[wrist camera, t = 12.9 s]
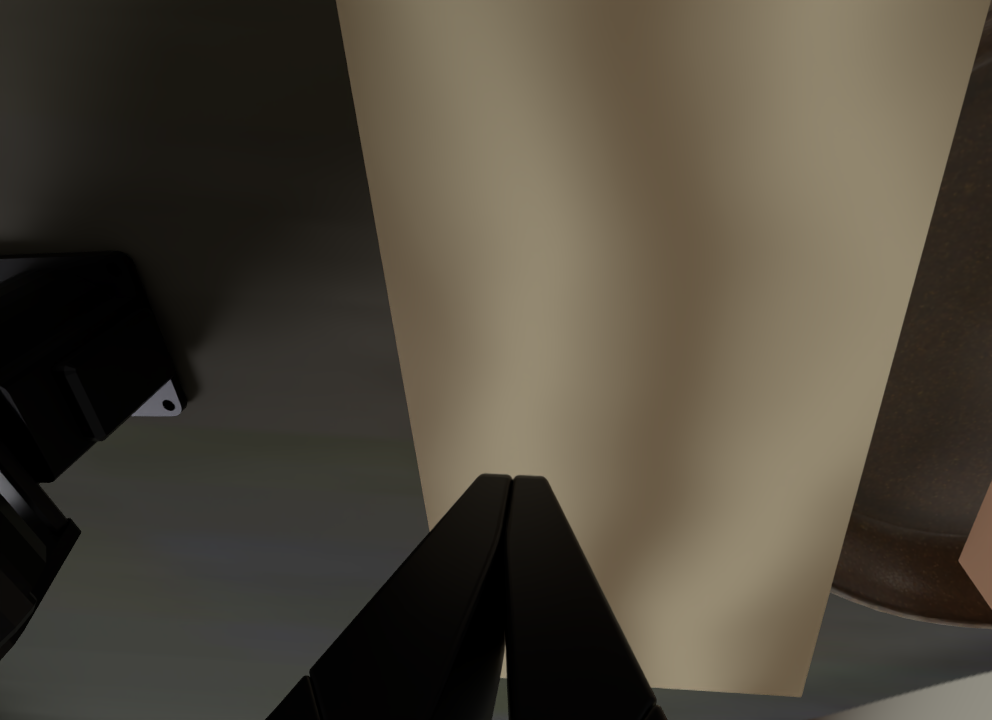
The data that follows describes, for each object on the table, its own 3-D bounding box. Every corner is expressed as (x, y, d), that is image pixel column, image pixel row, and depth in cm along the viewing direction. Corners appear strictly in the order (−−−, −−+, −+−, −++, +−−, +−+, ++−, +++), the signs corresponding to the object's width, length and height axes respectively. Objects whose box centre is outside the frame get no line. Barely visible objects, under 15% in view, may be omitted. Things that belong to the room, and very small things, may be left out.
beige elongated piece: (480, 541, 26) (455, 675, 21) (411, -12, 16) (332, -19, 11) (754, 550, 24) (801, 696, 19) (862, -56, 15) (1014, -87, 10)
